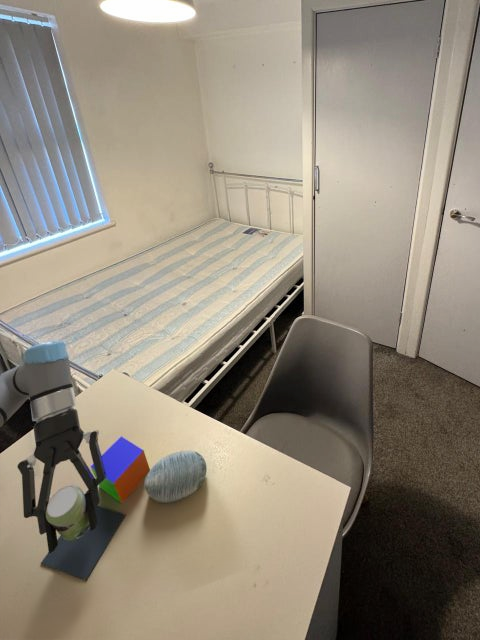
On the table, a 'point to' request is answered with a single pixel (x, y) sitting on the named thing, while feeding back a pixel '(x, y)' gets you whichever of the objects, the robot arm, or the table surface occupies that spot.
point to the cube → (123, 469)
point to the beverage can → (68, 512)
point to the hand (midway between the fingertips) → (74, 537)
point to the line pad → (85, 546)
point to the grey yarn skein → (175, 476)
